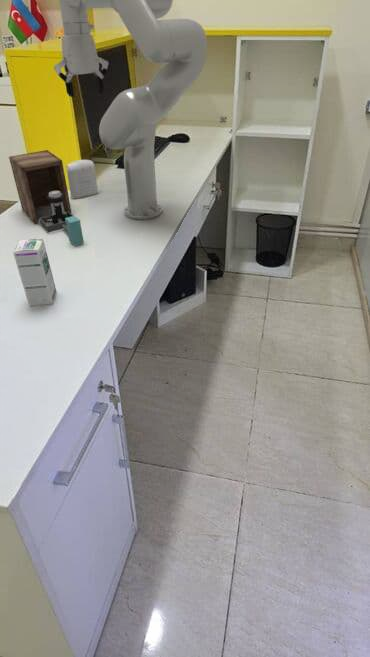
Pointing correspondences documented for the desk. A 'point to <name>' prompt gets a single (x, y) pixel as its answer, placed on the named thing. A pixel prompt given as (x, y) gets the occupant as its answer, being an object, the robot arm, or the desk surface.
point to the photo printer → (81, 178)
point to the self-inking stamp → (57, 207)
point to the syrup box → (35, 271)
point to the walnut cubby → (38, 180)
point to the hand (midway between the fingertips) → (85, 94)
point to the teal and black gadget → (66, 227)
